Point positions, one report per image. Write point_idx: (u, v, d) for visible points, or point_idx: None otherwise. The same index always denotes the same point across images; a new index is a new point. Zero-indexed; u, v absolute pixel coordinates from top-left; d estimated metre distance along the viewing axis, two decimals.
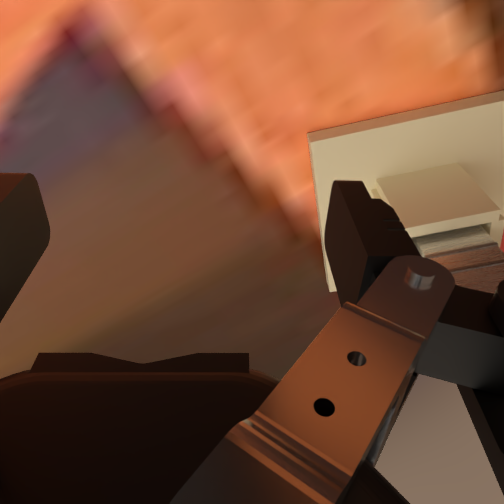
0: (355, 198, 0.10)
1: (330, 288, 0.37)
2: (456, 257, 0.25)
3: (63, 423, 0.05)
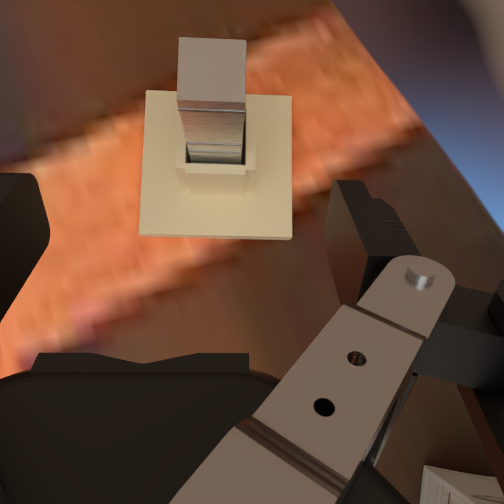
0: (355, 198, 0.10)
1: (287, 236, 0.40)
2: None
3: (63, 423, 0.05)
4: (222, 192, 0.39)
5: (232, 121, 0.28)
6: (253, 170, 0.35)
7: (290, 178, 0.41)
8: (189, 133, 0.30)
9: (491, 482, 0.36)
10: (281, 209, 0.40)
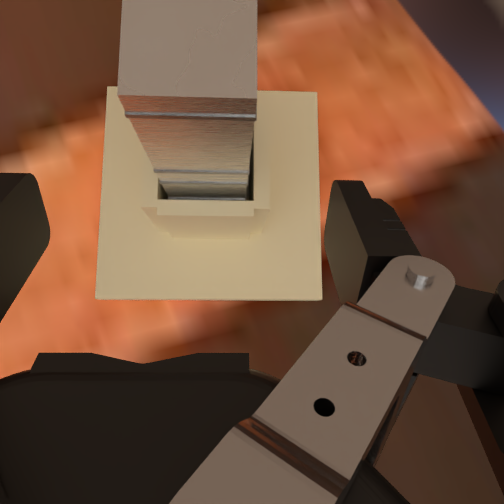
0: (355, 198, 0.10)
1: (315, 298, 0.27)
2: None
3: (63, 423, 0.05)
4: (219, 235, 0.26)
5: (231, 135, 0.15)
6: (266, 209, 0.22)
7: (318, 212, 0.28)
8: (155, 155, 0.17)
9: None
10: (305, 258, 0.27)
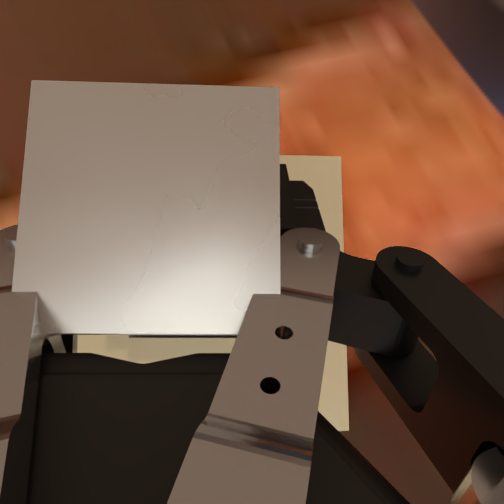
0: None
1: (340, 428, 0.21)
2: None
3: (63, 423, 0.05)
4: None
5: None
6: None
7: None
8: None
9: None
10: (327, 375, 0.21)
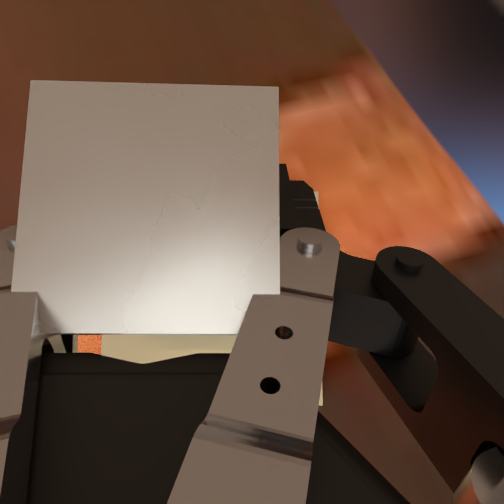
0: None
1: None
2: None
3: (63, 423, 0.05)
4: None
5: None
6: None
7: None
8: None
9: None
10: None
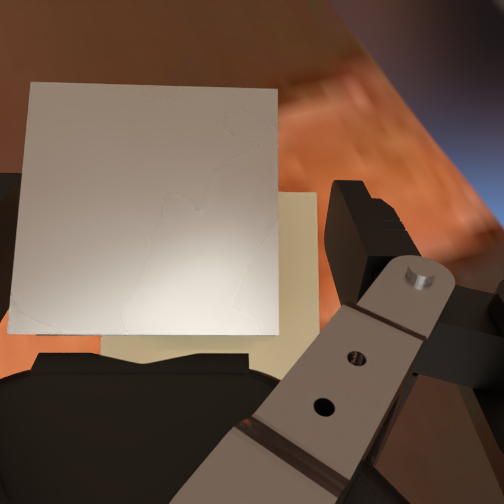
0: (355, 198, 0.10)
1: None
2: None
3: (63, 423, 0.05)
4: None
5: None
6: (265, 341, 0.22)
7: (317, 315, 0.28)
8: None
9: None
10: None
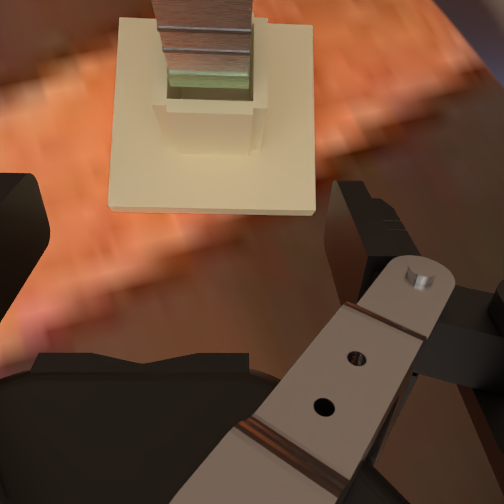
0: (355, 198, 0.10)
1: (309, 209, 0.29)
2: None
3: (63, 423, 0.05)
4: (221, 149, 0.29)
5: None
6: (264, 109, 0.24)
7: (312, 132, 0.30)
8: None
9: None
10: (301, 173, 0.30)
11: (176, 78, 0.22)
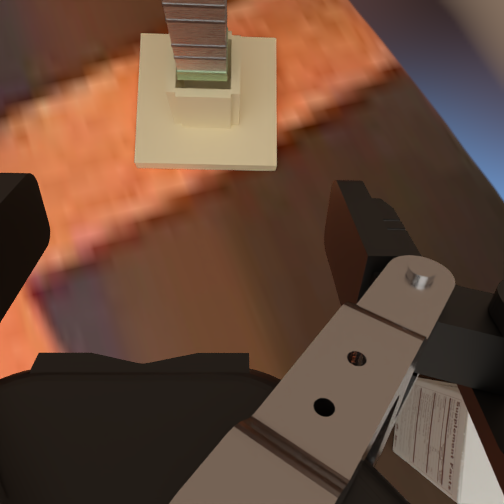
0: (355, 198, 0.10)
1: (272, 164, 0.43)
2: None
3: (63, 423, 0.05)
4: (211, 123, 0.42)
5: None
6: (238, 94, 0.38)
7: (275, 112, 0.44)
8: None
9: None
10: (266, 140, 0.43)
11: (181, 75, 0.36)
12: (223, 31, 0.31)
